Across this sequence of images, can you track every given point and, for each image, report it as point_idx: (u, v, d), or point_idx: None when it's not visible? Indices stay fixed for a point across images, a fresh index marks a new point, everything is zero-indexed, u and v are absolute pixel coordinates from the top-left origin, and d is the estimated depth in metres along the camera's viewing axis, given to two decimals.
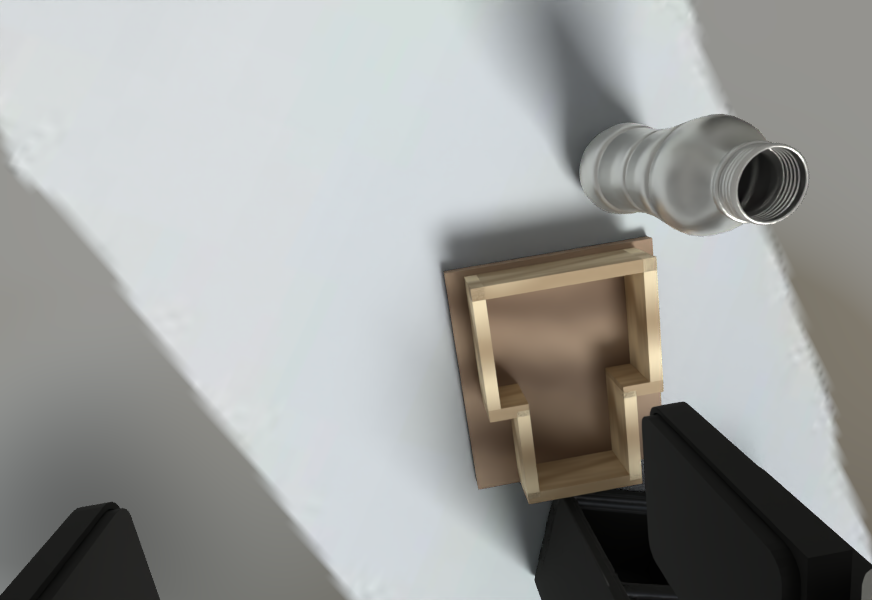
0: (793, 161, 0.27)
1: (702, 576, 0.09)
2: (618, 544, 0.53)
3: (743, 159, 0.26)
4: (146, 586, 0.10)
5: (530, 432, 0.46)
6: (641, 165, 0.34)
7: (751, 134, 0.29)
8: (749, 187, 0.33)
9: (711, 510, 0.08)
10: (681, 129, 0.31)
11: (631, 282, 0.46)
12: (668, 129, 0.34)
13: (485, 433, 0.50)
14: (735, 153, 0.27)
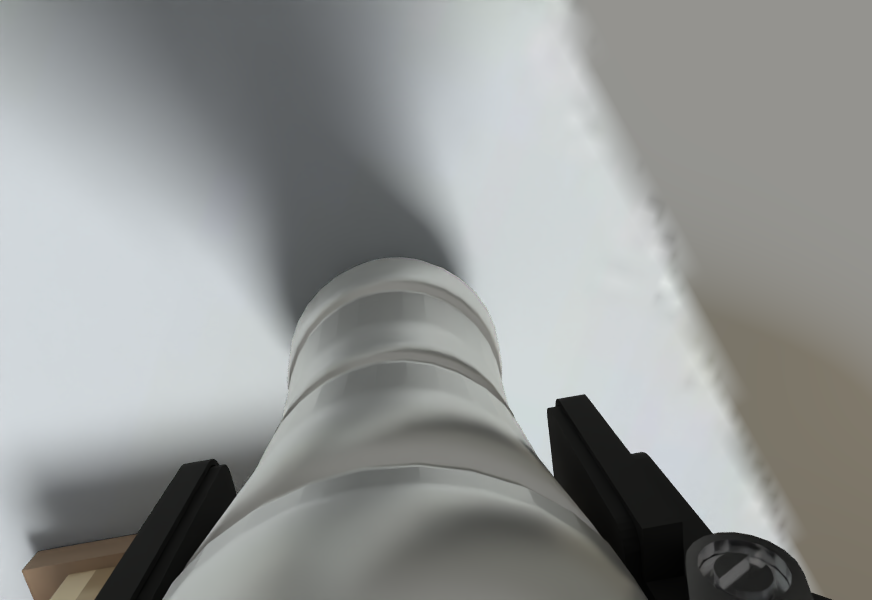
0: None
1: None
2: None
3: None
4: None
5: None
6: None
7: None
8: None
9: (587, 491, 0.09)
10: (186, 595, 0.05)
11: None
12: (317, 424, 0.08)
13: None
14: None
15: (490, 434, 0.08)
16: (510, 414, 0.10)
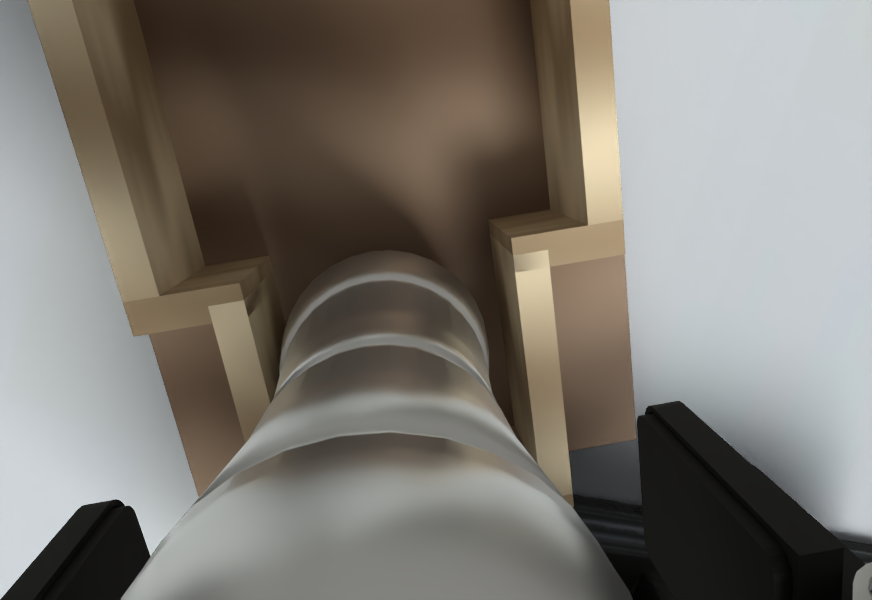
0: None
1: (696, 574, 0.09)
2: None
3: None
4: None
5: (256, 366, 0.16)
6: None
7: None
8: None
9: (705, 508, 0.08)
10: (171, 548, 0.06)
11: None
12: (301, 400, 0.09)
13: (203, 382, 0.21)
14: None
15: (465, 408, 0.08)
16: (490, 395, 0.11)
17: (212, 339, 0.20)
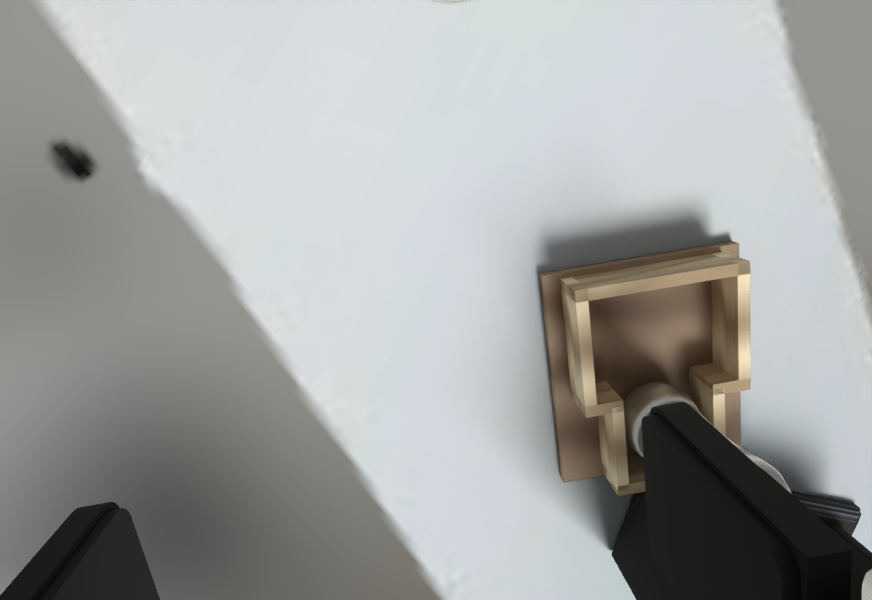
0: None
1: (702, 576, 0.09)
2: None
3: None
4: (146, 586, 0.10)
5: (623, 427, 0.48)
6: None
7: None
8: None
9: (711, 510, 0.08)
10: None
11: (721, 284, 0.48)
12: None
13: (572, 428, 0.52)
14: None
15: None
16: None
17: (579, 412, 0.52)
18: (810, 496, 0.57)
